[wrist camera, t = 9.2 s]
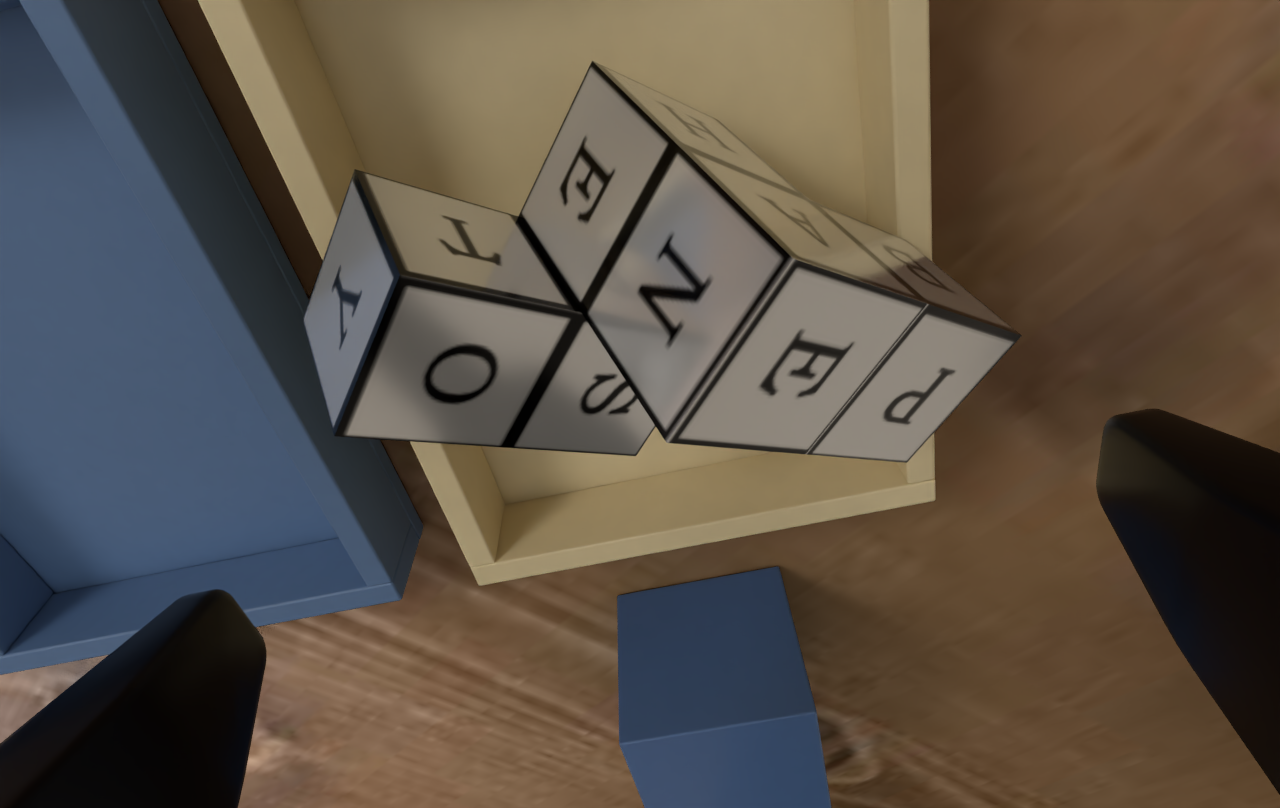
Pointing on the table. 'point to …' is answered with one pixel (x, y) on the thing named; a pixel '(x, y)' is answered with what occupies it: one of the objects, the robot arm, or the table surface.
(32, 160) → the slate-blue tray
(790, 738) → the blue block
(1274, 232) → the table surface
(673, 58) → the cream tray
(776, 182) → the building blocks
